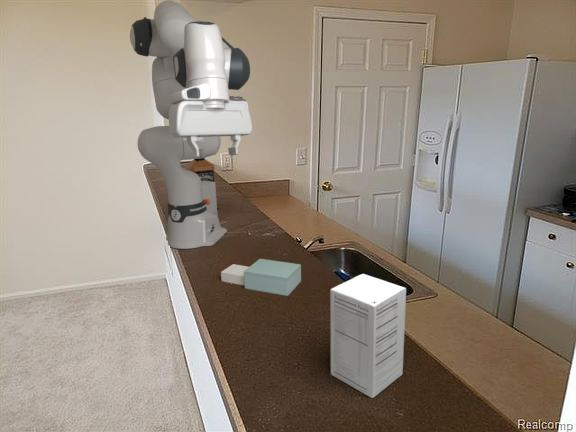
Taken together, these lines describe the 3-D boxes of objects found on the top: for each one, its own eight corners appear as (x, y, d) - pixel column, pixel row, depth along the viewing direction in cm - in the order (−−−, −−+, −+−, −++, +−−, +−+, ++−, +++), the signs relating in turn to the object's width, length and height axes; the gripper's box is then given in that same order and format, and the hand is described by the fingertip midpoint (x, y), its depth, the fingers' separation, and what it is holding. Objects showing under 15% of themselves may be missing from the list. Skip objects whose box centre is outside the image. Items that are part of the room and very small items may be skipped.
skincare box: (206, 218, 174) (203, 180, 169) (219, 220, 170) (216, 181, 166) (192, 223, 167) (188, 184, 162) (205, 226, 163) (201, 185, 159)
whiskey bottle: (195, 214, 179) (188, 136, 170) (189, 209, 188) (182, 134, 179) (219, 210, 184) (213, 135, 175) (211, 205, 192) (206, 133, 183)
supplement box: (404, 374, 76) (409, 287, 71) (372, 400, 70) (376, 307, 65) (360, 352, 83) (362, 271, 78) (328, 374, 77) (328, 287, 72)
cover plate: (233, 273, 121) (233, 264, 120) (278, 282, 115) (277, 272, 114) (221, 282, 116) (220, 272, 115) (267, 291, 110) (266, 280, 109)
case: (260, 274, 119) (259, 258, 117) (301, 281, 114) (300, 264, 113) (244, 288, 111) (243, 271, 109) (287, 295, 106) (287, 278, 105)
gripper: (239, 99, 107) (245, 155, 109) (162, 96, 94) (170, 159, 95) (254, 94, 102) (260, 152, 104) (175, 90, 89) (183, 157, 91)
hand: (216, 156), depth 99 cm, fingers open, 8 cm apart
